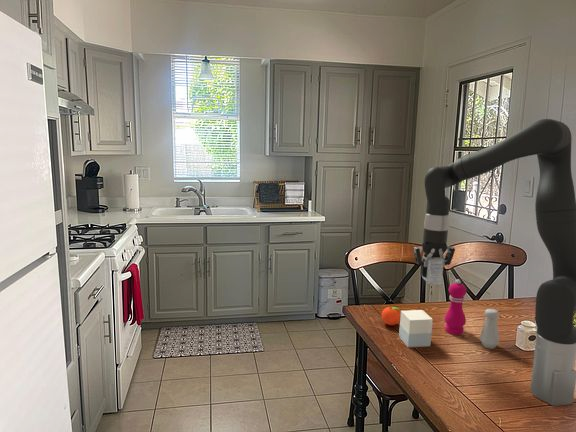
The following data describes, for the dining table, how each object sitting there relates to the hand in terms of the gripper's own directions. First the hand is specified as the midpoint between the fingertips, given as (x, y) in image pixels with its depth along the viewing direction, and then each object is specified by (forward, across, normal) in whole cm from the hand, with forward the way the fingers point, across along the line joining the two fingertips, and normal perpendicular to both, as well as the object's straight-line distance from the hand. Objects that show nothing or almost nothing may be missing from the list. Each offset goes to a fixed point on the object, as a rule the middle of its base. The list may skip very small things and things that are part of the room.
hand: (431, 276), depth 136 cm
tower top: (+20, -4, +2) cm, 20 cm away
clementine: (+25, -7, +15) cm, 30 cm away
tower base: (+25, -4, +2) cm, 25 cm away
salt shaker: (+24, +21, -4) cm, 32 cm away
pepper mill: (+25, +14, +8) cm, 29 cm away
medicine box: (+2, 0, 0) cm, 2 cm away
